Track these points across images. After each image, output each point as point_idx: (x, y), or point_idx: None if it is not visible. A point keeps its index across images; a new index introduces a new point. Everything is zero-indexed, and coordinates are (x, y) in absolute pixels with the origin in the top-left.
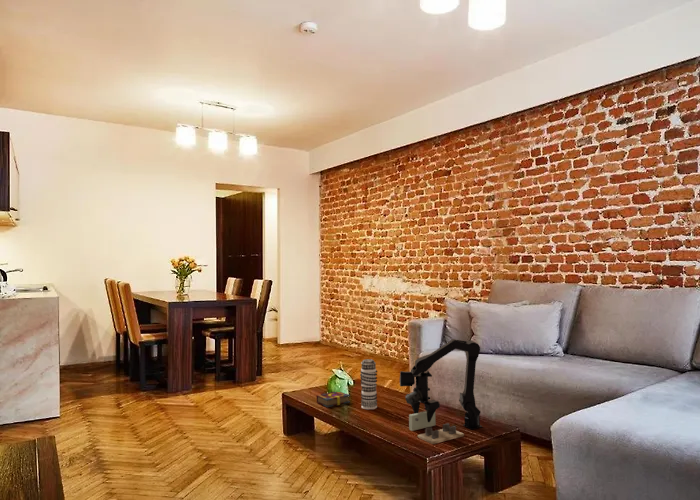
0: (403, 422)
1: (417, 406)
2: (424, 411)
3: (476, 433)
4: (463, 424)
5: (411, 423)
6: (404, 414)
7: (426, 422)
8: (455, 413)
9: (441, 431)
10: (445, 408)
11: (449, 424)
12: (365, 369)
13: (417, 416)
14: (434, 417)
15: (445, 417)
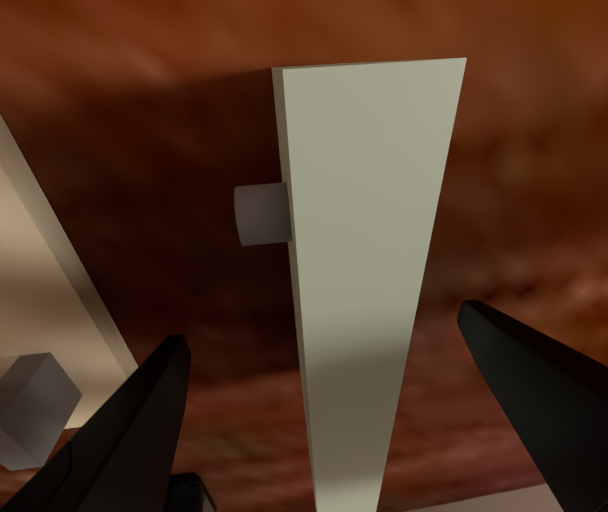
0: (580, 167)
1: (586, 488)
2: (381, 458)
3: (23, 482)
4: (198, 485)
5: (284, 67)
6: None
7: (297, 330)
8: (401, 495)
9: (40, 339)
10: (491, 487)
11: (12, 463)
12: None
13: (297, 278)
14: (307, 434)
15: (389, 455)
